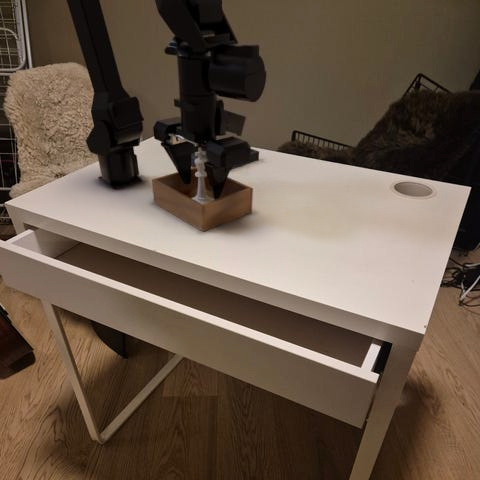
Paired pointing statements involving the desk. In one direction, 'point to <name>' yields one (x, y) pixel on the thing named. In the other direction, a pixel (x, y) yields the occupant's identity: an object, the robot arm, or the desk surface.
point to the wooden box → (200, 215)
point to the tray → (253, 158)
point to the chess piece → (201, 179)
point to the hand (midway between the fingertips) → (201, 191)
